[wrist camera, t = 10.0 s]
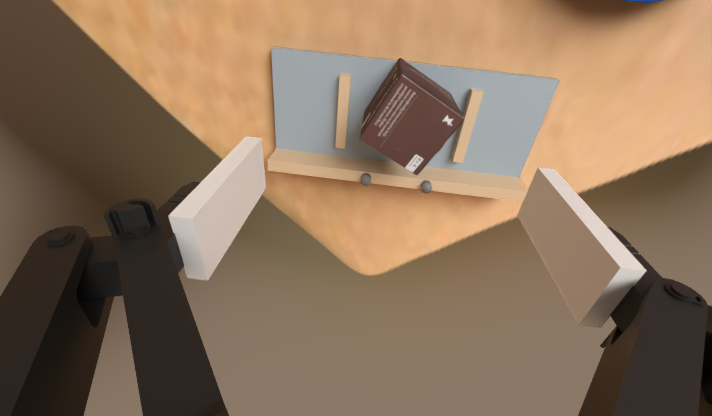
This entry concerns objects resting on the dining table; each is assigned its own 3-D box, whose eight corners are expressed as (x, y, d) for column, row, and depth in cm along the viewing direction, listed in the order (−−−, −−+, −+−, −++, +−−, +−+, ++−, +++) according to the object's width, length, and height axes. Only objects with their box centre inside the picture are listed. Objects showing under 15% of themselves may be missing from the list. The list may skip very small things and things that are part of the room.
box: (400, 55, 29) (402, 71, 23) (452, 93, 30) (468, 118, 24) (363, 112, 32) (356, 139, 26) (412, 144, 34) (417, 178, 27)
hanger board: (274, 46, 31) (256, 54, 27) (554, 78, 30) (580, 90, 26) (279, 154, 37) (265, 174, 33) (512, 182, 36) (527, 206, 32)
